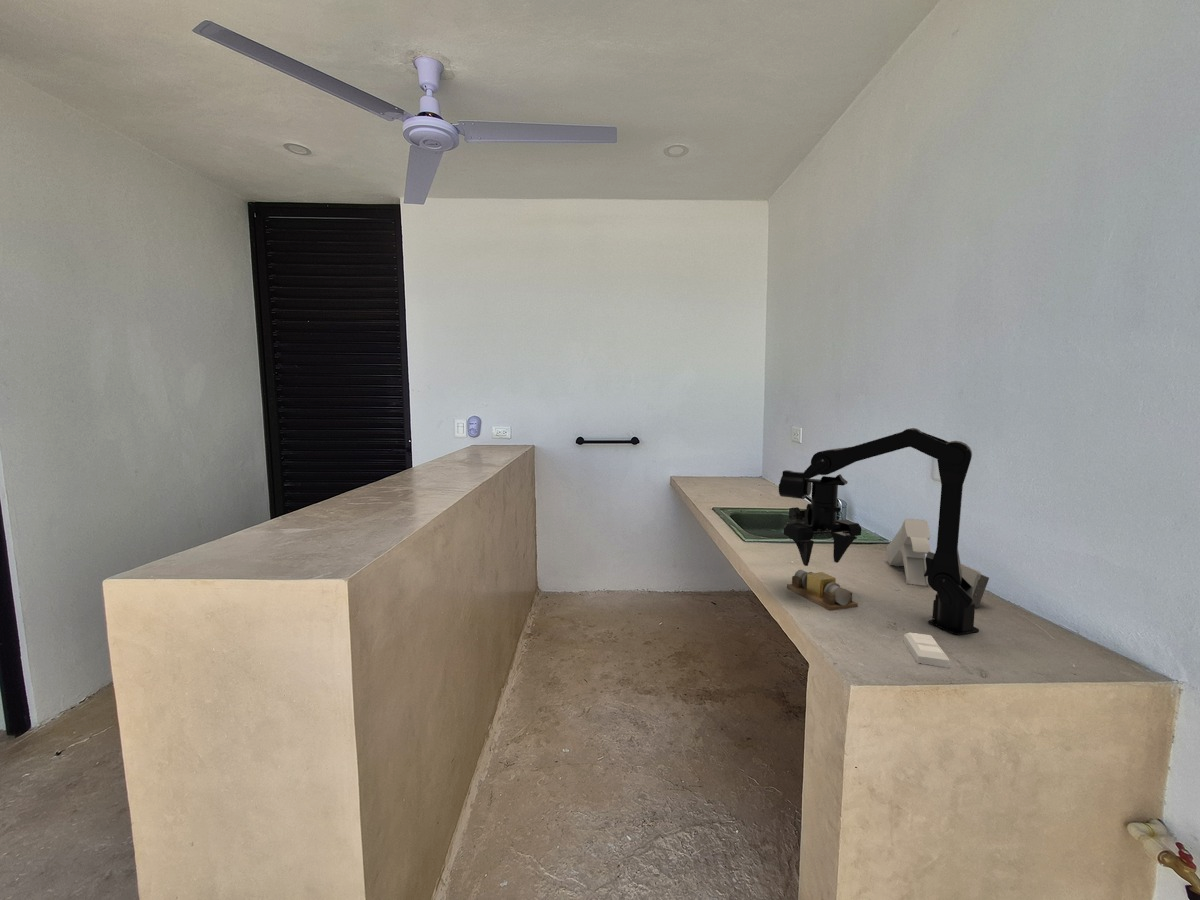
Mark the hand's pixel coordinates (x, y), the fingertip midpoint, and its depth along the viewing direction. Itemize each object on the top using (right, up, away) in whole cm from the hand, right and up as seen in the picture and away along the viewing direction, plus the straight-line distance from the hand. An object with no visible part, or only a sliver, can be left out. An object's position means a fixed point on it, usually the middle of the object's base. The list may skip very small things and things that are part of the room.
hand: (820, 563), depth 119 cm
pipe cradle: (0, -8, +1) cm, 8 cm away
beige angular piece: (+33, -7, +18) cm, 38 cm away
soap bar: (+7, -11, -27) cm, 30 cm away
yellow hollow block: (0, -8, 0) cm, 8 cm away
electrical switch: (+33, -9, -2) cm, 35 cm away
